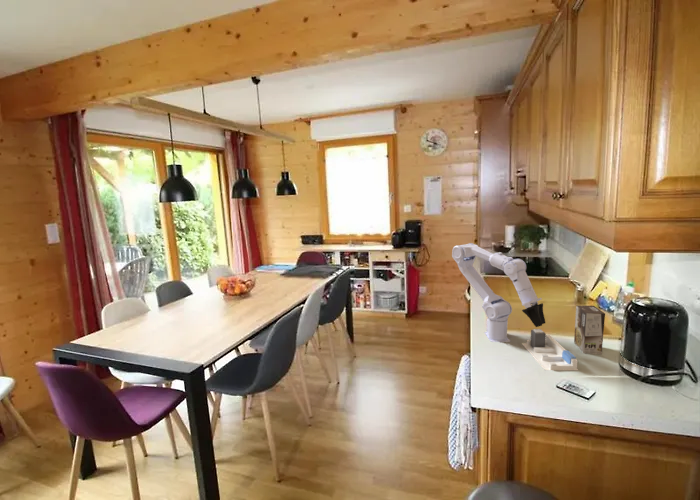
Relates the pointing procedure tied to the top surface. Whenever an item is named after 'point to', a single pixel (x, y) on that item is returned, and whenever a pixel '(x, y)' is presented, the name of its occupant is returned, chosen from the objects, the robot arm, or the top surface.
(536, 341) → the plug
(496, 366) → the top surface
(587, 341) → the coffee box
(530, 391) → the top surface
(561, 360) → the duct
